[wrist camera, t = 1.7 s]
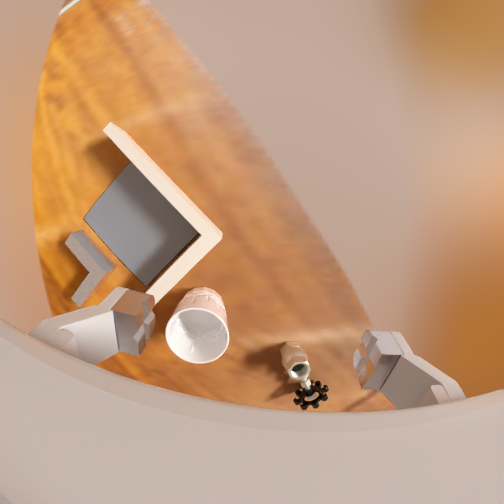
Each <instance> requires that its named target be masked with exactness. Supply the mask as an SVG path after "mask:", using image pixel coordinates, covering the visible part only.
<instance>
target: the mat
mask: <svg viewBox="0 0 504 504" xmlns="http://www.w3.org/2000/svg"><path fill="white" fill-rule="evenodd" d="M84 219H85V221H86V222H87V223H88V224H89V225H90V227H91V228H92V229H93V230H94V231H95V232H96V234H97V235H98V236H99V237H100V238H101V239H102V240H103V242H104V243H105V244H106V245H107V246H108V247H109V248H110V249H111V250H112V252H113V253H114V254H115V255H116V256H117V257H118V258H119V259H120V260H121V261H122V262H123V263H124V264H125V265H126V267H127V268H128V269H129V270H130V271H131V272H132V273H133V274H134V275H135V276H136V277H137V278H138V279H139V280H140V281H141V282H142V283H143V284H144V285H145V286H147V285H148V284H149V283H150V282H151V281H152V280H153V279H154V278H155V276H156V275H157V274H158V273H159V272H160V271H161V270H162V269H163V268H164V267H165V266H166V265H167V264H168V263H169V262H170V261H171V260H172V259H173V258H174V257H175V256H176V255H177V254H178V253H179V252H180V251H181V250H182V249H183V248H184V247H185V246H186V245H187V244H188V243H189V242H190V241H191V240H192V239H193V238H194V237H195V236H196V235H197V234H198V233H199V232H198V231H197V230H196V229H195V228H194V227H193V226H192V225H191V224H190V223H189V222H188V221H187V220H186V219H185V218H184V217H183V216H182V214H181V213H180V212H179V211H178V210H177V209H176V208H175V207H174V206H173V205H172V204H171V203H170V202H169V201H168V200H167V199H166V198H165V197H164V196H163V195H162V194H161V193H160V191H159V190H158V189H157V188H156V187H155V186H154V185H153V184H152V183H151V182H150V181H149V180H148V179H147V178H146V177H145V176H144V175H143V173H142V172H141V171H140V170H139V169H138V168H137V167H136V166H135V165H134V164H133V163H132V162H130V163H129V164H128V165H127V167H126V168H125V169H124V170H123V171H122V172H121V173H120V174H119V175H118V177H117V178H116V179H115V180H114V181H113V182H112V184H111V185H110V186H109V187H108V188H107V189H106V191H105V192H104V193H103V194H102V196H101V197H100V198H99V199H98V200H97V202H96V203H95V204H94V206H93V207H92V208H91V209H90V211H89V212H88V213H87V215H86V216H85V217H84Z"/></svg>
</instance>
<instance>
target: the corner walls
mask: <svg viewBox="0 0 504 504" xmlns="http://www.w3.org/2000/svg"><path fill="white" fill-rule="evenodd" d="M103 131H104V132H105V133H106V134H107V135H108V137H109V138H110V139H111V140H112V141H113V142H114V143H115V144H116V145H117V146H118V148H119V149H120V150H121V151H122V152H123V153H124V154H125V155H126V156H127V157H128V158H129V159H130V161H131V162H132V163H133V164H134V165H135V166H136V167H137V168H138V169H139V170H140V171H141V172H142V173H143V175H144V176H145V177H146V178H147V179H148V180H149V181H150V182H151V183H152V184H153V185H154V186H155V187H156V188H157V189H158V190H159V191H160V193H161V194H162V195H163V196H164V197H165V198H166V199H167V200H168V201H169V202H170V203H171V204H172V205H173V206H174V207H175V208H176V209H177V210H178V211H179V212H180V213H181V214H182V216H183V217H184V218H185V219H186V220H187V221H188V222H189V223H190V224H191V225H192V226H193V227H194V228H195V229H196V230H197V231H198V232H199V233H200V234H201V235H200V236H199V237H198V238H197V239H196V240H195V241H194V242H193V243H192V244H191V245H190V246H189V247H188V248H187V249H186V250H185V251H184V252H183V253H182V254H181V255H180V256H179V257H178V258H177V259H176V260H175V261H174V263H173V264H172V265H171V266H170V267H169V268H168V269H167V270H166V271H165V272H164V273H163V274H162V275H161V276H160V277H159V278H158V279H157V280H156V281H155V282H154V283H153V284H152V285H151V286H150V288H149V289H148V290H147V291H146V292H145V293H146V294H150V295H153V296H154V298H155V305H156V304H157V303H158V301H159V300H160V299H161V298H162V297H163V296H164V295H165V294H166V293H167V292H168V291H169V290H170V289H171V288H172V287H173V286H174V285H175V284H176V283H177V282H178V281H179V280H180V279H181V278H182V277H183V276H184V275H185V274H186V273H187V272H188V271H189V270H190V269H191V268H192V267H193V266H194V265H195V264H196V263H197V262H199V261H200V260H201V259H202V258H203V257H204V256H205V255H206V254H207V253H208V252H209V251H210V250H211V249H212V248H213V247H214V246H215V245H216V244H217V243H218V242H219V241H220V240H221V239H222V234H223V233H222V232H221V231H220V230H219V229H218V228H217V227H216V226H215V225H214V224H213V223H212V222H211V221H210V219H209V218H208V217H207V216H206V215H205V214H204V213H203V212H202V211H201V210H200V209H199V208H198V207H197V206H196V205H195V204H194V203H193V202H192V201H191V200H190V199H189V198H188V197H187V196H186V195H185V194H184V193H183V192H182V190H181V189H180V188H179V187H178V186H177V185H176V184H175V183H174V182H173V181H172V180H171V179H170V178H169V177H168V176H167V175H166V174H165V173H164V172H163V171H162V170H161V169H160V168H159V167H158V165H157V164H156V163H155V162H154V161H153V160H152V159H151V158H150V157H149V156H148V155H147V154H146V153H145V152H144V151H143V150H142V149H141V148H140V147H139V146H138V145H137V143H136V142H135V141H134V140H133V139H132V138H131V137H130V136H129V135H128V134H127V133H126V132H125V131H123V130H122V129H120V128H119V127H117V126H116V125H114V124H113V123H111V122H110V123H109V124H108V125H107V127H106V128H105V129H104V130H103Z"/></svg>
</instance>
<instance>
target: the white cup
mask: <svg viewBox="0 0 504 504" xmlns="http://www.w3.org/2000/svg"><path fill="white" fill-rule="evenodd" d="M165 336H166V341H167V343H168V346H169V347H170V349H171V350H172V351H173V352H174V353H175V354H176V355H177V356H178V357H180V358H181V359H183V360H185V361H188V362H191V363H208V362H211V361H214V360H216V359H217V358H219V357H220V356H221V355H222V354H223V353H224V352H225V350H226V349H227V347H228V343H229V331H228V323H227V316H226V311H225V306H224V303H223V301H222V298H221V296H220V295H219V294H218V293H217V292H215V291H214V290H212V289H209V288H207V287H197V288H193V289H192V290H190V291H188V292H187V293H186V294H185V296H184V298H183V299H182V300H181V301H180V303H179V304H178V306H177V307H176V309H175V311H174V312H173V314H172V316H171V318H170V320H169V321H168V323H167V326H166V330H165Z"/></svg>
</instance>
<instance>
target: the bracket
mask: <svg viewBox="0 0 504 504" xmlns="http://www.w3.org/2000/svg"><path fill="white" fill-rule="evenodd" d="M65 244H66V245H67V247H68V248H69V249H70V250H71V251H72V253H73V254H74V255H75V256H76V257H77V259H78V260H79V261H80V262H81V263H82V264H83V266H84V267H85V268H86V269H87V270H88V271H89V272H90V273H89V274H88V275H87V277H86V278H85V279H84V281H83V282H82V283H81V285H80V286H79V288H78V289H77V290H76V292H75V293H74V295H73V296H72V298H71V299H72V300H73V301H74V302H75V303H76V304H77V306H78V307H79V308H80V307H81V306H82V305H83V304H85V303H86V302H87V301H88V300H90V299H91V298H92V297H93V296H94V295H95V294H96V292H97V291H98V290H99V288H100V287H101V286H102V285H103V283H104V282H105V281H106V280H107V279H108V277H109V276H110V275H111V274H112V272H113V271H114V270H115V269H116V268H117V266H118V264H117V263H116V262H115V261H114V260H113V259H112V257H111V256H110V255H109V254H108V253H107V252H106V251H105V250H104V249H103V247H102V246H101V245H100V244H99V243H98V242H97V241H96V240H95V238H94V237H93V236H92V235H91V234H90V233H89V231H88V230H87V229H86V230H82V231H78V232H74V233H71V234H70V236H69V237H68V239H67V240H66V242H65Z"/></svg>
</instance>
